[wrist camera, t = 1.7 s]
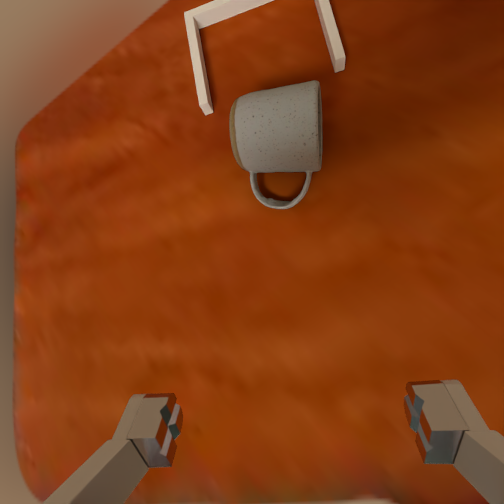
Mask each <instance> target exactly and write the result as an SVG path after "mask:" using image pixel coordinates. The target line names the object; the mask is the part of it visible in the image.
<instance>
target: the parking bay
mask: <svg viewBox="0 0 504 504" xmlns="http://www.w3.org/2000/svg"><path fill="white" fill-rule="evenodd" d="M271 1H274V0H214V1H212V2H209V3H207V4H204V5H202V6H199V7H197V8H194V9H192V10H189V11H187V12H184V16H185V22H186V28H187V34H188V40H189V46H190V52H191V58H192V64H193V70H194V76H195V82H196V88H197V94H198V100H199V106H200V107H201V109H202V110H203V112H204V114H205V115H208V114H211V113H213V107H212V102H211V96H210V90H209V85H208V79H207V73H206V68H205V62H204V56H203V51H202V45H201V39H200V34H199V29H201V28H204V27H206V26H209V25H211V24H214V23H217V22H219V21H222V20H224V19H227V18H230V17H232V16H235V15H237V14H240V13H243V12H245V11H248V10H250V9H253V8H256V7H258V6H261V5H263V4H266V3H269V2H271ZM314 1H315V4H316V8H317V11H318V15H319V18H320V22H321V25H322V29H323V32H324V36H325V39H326V43H327V46H328V50H329V54H330V57H331V61H332V64H333V68H334V71H335V73H336V72H339V71H342V70H344V69H345V57H346V56H345V53H344V50H343V46H342V43H341V40H340V36H339V33H338V29H337V26H336V23H335V19H334V16H333V13H332V9H331V6H330V3H329V0H314Z"/></svg>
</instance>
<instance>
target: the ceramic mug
mask: <svg viewBox="0 0 504 504" xmlns="http://www.w3.org/2000/svg"><path fill="white" fill-rule="evenodd" d="M229 127H230V139H231V145H232V150H233V154H234V157H235V159H236V161H237V163H238V164H239V165H240V167H241V168H242V169H244V170H246V171H249V172H250V183H251V187H252V190H253V192H254V195H255V196H256V198H257V199H258V200H259V201H260V202H261V203H262V204H264V205H265V206H267V207H270V208H275V209H287V208H291V207H293V206H294V205H296V204H297V203H299V202H300V201H301V200H302V198H303V197H304V196H305V194H306V192H307V191H308V188H309V185H310V181H311V176H312V172H315V171H319V170H320V169H321V164H322V139H323V137H322V102H321V90H320V83H319V82H318V81H315V80H313V81H309V82H305V83H300V84H294V85H288V86H283V87H278V88H274V89H269V90H262V91H256V92H251V93H249V94H246V95H243V96H241V97H239V98H237V99H236V100H235V102H234V103H233V105H232V107H231V112H230V119H229ZM257 172H264V173H266V172H273V173H274V172H306V174H307V176H306V181H305V184H304V186H303V189H302V191H301V193H300V194H299V195H298V196H297V197H296V198H295V199H294V200H293V201H278V200H274V199H272V198H268V199H267V198H265V197H264V196H263V195H262V193H261V192H260V190H259V187H258V183H257Z"/></svg>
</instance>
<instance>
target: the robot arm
mask: <svg viewBox="0 0 504 504" xmlns="http://www.w3.org/2000/svg"><path fill="white" fill-rule="evenodd" d="M406 391H407V393H408V395H407V396H405V397H404V409H405V414H406V418H407V421H408V423H409V426H410V428H411V429H413V430H414V431H415V432H416V433H417V435H416V440H415V442H416V444H417V447H418V449H419V452H420V455H421V457H422V460H423V462H424V464H454V465H453V466H454V467H455V468H456V469H457V470H458V471H459V472H460V473H461V474H462V475H463V476H464V477H465V478H466V479H467V480H468V481H469V482H470V483H471V484H472V486H473V487H474V488H475V489H476V490H477V491H478V492H479V493H480V494H481V495H482V496H483V497H484V498H485V499H486V500H487V501H488V502H489V503H490V504H504V437H503V436H502V435H501V434H499V433H498V432H497V431H495V430H489V428H488V427H487V425H486V423H485V422H484V420H483V418H482V417H481V415H480V414H479V412H478V410H477V409H476V407H475V405H474V404H473V402H472V400H471V399H470V397H469V395H468V394H467V392H466V391H465V389H464V387H463V386H462V384H461V383H460V382H459V381H458V380H441V381H439V380H432V381H416V382H408V383H407V384H406ZM176 399H177V398H176V396H175V394H174V393H160V394H134V395H133V396H132V397H131V398H130V399H129V402H128V404H127V406H126V408H125V411H124V413H123V415H122V417H121V420H120V422H119V424H118V426H117V429H116V431H115V433H114V435H113V438H112V440H107V441H106V442H105V443H104V444H103V445H102V446H101V447H100V448H99V449H98V450H97V451H96V452H95V453H94V454H93V455H92V456H91V457H90V458H89V459H88V460H87V461H86V462H85V463H84V464H82V465H81V466H80V467H79V468H78V469H77V470H76V471H75V472H74V473H73V474H72V475H71V476H70V477H69V478H68V479H67V480H66V481H65V482H64V483H63V484H62V485H61V486H60V487H59V488H58V489H57V490H56V491H55V492H54V493H53V494H51V495H50V496H49V497H48V498H47V499H46V500H45V501H44V502H43V504H123V503H124V502H125V501H126V499H127V498H128V497H129V495H130V494H131V492H132V491H133V490H134V488H135V487H136V486H137V484H138V483H139V482H140V480H141V479H142V478H143V476H144V475H145V474H146V472H147V471H148V470H149V468H153V467H172V463H173V459H174V456H175V452H176V448H177V445H176V443H175V439H176V438H177V437H178V435H179V434H180V432H181V428H182V422H183V414H182V409H181V407H180V406H179V405H178V404H176Z"/></svg>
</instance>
